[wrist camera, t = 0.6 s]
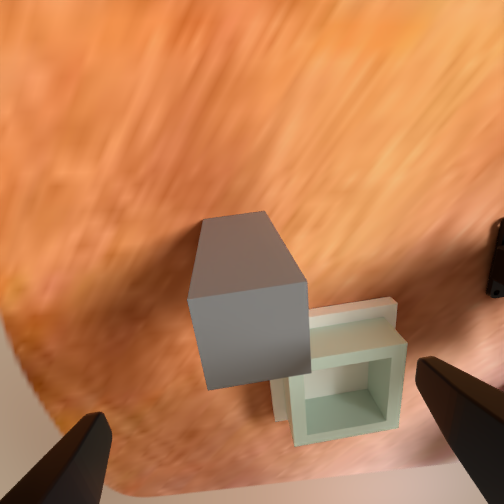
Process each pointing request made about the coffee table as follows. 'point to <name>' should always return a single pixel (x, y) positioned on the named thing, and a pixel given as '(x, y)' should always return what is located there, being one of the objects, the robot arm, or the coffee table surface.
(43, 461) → the robot arm
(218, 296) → the peg
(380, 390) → the socket block
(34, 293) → the coffee table surface
